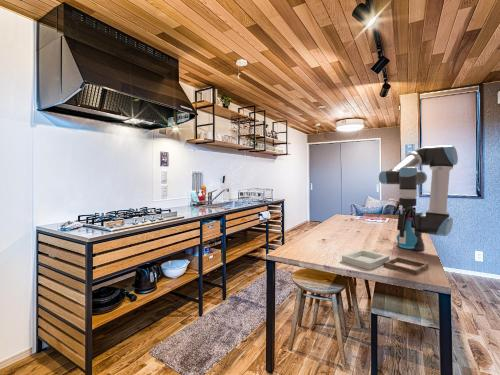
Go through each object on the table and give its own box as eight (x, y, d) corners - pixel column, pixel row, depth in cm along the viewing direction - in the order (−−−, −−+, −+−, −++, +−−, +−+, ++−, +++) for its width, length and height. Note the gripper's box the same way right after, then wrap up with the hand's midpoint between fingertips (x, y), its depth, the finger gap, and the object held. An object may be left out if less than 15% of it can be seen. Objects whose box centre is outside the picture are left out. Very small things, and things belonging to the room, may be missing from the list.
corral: (397, 260, 144) (397, 256, 144) (428, 268, 132) (428, 264, 132) (383, 266, 135) (383, 262, 135) (415, 275, 123) (415, 270, 123)
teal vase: (409, 243, 138) (410, 215, 137) (421, 249, 129) (422, 218, 128) (392, 244, 138) (393, 216, 137) (403, 249, 128) (404, 219, 127)
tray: (361, 254, 155) (361, 249, 154) (389, 261, 142) (389, 255, 142) (341, 261, 143) (341, 255, 142) (370, 269, 130) (370, 263, 130)
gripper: (409, 195, 141) (408, 236, 142) (389, 198, 128) (388, 244, 129) (424, 196, 135) (423, 239, 136) (406, 200, 122) (405, 247, 123)
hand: (406, 241), depth 133 cm, fingers closed on teal vase, 9 cm apart
